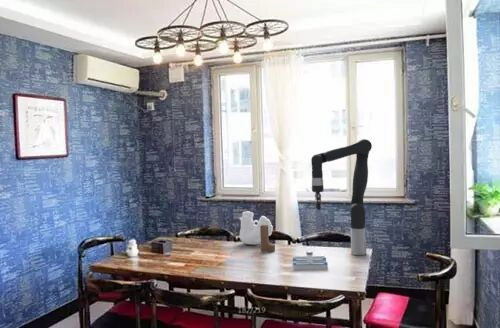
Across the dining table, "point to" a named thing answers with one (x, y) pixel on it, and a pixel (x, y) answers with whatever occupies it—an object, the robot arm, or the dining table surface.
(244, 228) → the decorative rooster
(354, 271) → the dining table surface
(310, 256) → the cord plug
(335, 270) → the dining table surface
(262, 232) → the wooden block
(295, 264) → the duct
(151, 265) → the dining table surface
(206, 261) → the dining table surface
